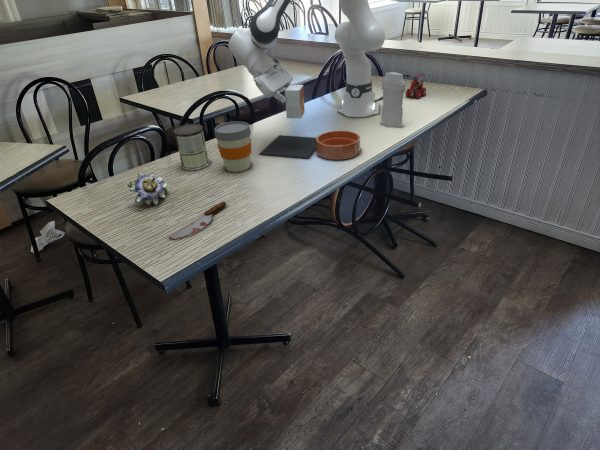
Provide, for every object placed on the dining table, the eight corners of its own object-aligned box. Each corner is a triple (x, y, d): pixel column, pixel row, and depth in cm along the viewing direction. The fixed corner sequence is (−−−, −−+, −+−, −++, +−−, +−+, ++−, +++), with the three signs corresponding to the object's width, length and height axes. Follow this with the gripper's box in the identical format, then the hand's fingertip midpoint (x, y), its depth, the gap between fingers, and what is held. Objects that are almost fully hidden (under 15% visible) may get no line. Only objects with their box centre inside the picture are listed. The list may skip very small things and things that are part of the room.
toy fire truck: (403, 98, 212) (404, 77, 206) (415, 92, 220) (416, 72, 214) (415, 100, 208) (417, 78, 202) (427, 94, 216) (429, 73, 210)
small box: (301, 119, 155) (299, 90, 149) (286, 118, 156) (284, 90, 150) (305, 112, 161) (303, 84, 156) (290, 112, 162) (289, 84, 157)
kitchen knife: (179, 241, 113) (167, 234, 115) (180, 246, 114) (168, 238, 116) (234, 205, 126) (222, 199, 128) (234, 209, 127) (223, 203, 129)
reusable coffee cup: (217, 164, 157) (210, 125, 149) (249, 157, 160) (244, 119, 152) (225, 177, 147) (218, 136, 139) (259, 169, 150) (254, 128, 142)
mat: (279, 136, 177) (279, 135, 177) (324, 139, 171) (324, 138, 170) (259, 154, 162) (259, 153, 161) (308, 159, 155) (307, 157, 155)
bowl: (324, 142, 168) (324, 129, 165) (364, 145, 163) (364, 131, 160) (311, 158, 156) (310, 144, 153) (353, 162, 150) (353, 147, 147)
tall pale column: (378, 124, 182) (379, 72, 170) (382, 121, 184) (385, 69, 173) (400, 128, 176) (403, 74, 164) (404, 125, 178) (408, 72, 167)
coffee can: (176, 165, 158) (168, 129, 150) (200, 157, 164) (192, 122, 156) (191, 173, 151) (183, 135, 144) (215, 163, 157) (208, 127, 150)
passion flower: (160, 218, 136) (137, 203, 125) (138, 205, 140) (114, 189, 129) (180, 190, 138) (160, 172, 127) (157, 178, 142) (136, 160, 132)
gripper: (256, 70, 144) (284, 99, 145) (279, 57, 159) (304, 84, 161) (246, 83, 147) (274, 111, 149) (270, 69, 163) (294, 96, 165)
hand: (290, 97), depth 156 cm, fingers closed on small box, 8 cm apart
